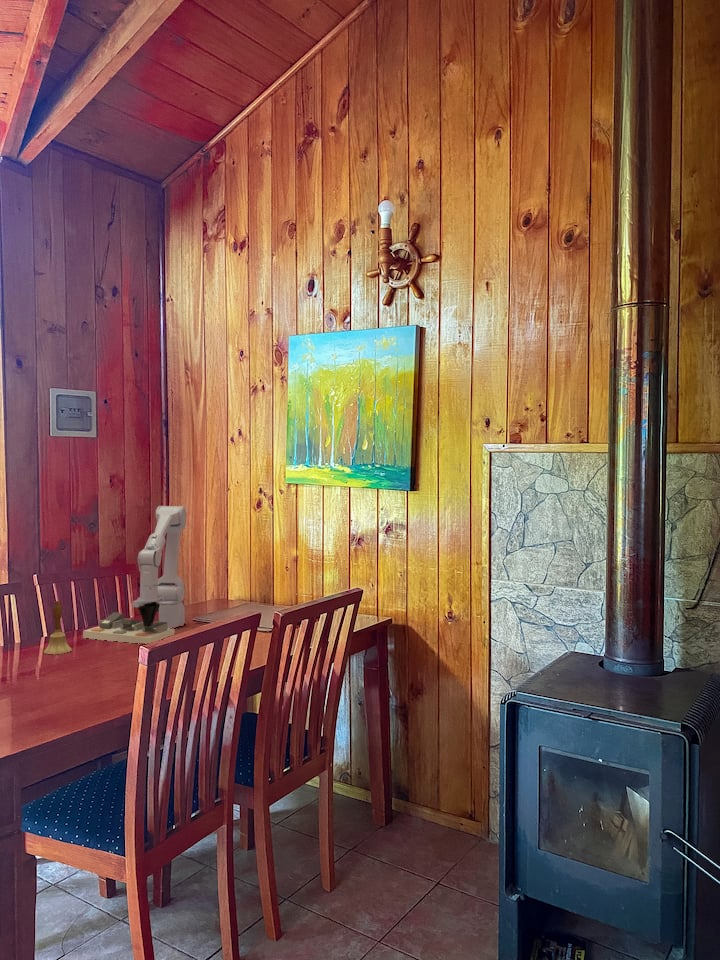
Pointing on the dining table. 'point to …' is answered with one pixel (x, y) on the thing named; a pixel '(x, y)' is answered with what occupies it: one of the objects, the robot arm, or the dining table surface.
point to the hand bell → (57, 635)
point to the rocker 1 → (111, 620)
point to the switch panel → (129, 633)
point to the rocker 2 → (155, 624)
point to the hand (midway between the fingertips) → (148, 625)
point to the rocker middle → (130, 621)
